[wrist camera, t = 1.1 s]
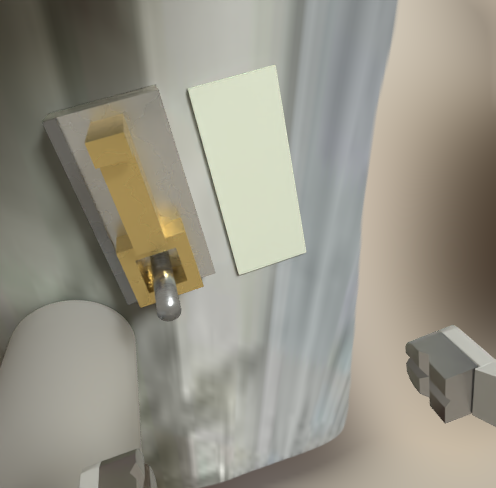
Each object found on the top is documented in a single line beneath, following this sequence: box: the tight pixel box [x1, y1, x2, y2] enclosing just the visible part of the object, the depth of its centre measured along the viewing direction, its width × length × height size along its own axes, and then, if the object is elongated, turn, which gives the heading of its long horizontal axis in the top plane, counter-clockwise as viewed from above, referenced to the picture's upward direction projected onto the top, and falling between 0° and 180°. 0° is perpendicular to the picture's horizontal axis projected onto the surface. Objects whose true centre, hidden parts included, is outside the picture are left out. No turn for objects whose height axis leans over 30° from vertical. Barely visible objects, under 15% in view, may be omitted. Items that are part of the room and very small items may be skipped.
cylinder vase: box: [0, 300, 142, 488], centre depth 34 cm, size 12×12×25 cm
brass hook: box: [85, 114, 204, 308], centre depth 34 cm, size 16×6×6 cm, turn 13°
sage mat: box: [188, 65, 306, 275], centre depth 41 cm, size 20×8×1 cm, turn 13°
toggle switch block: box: [42, 84, 215, 321], centre depth 34 cm, size 18×9×12 cm, turn 13°
